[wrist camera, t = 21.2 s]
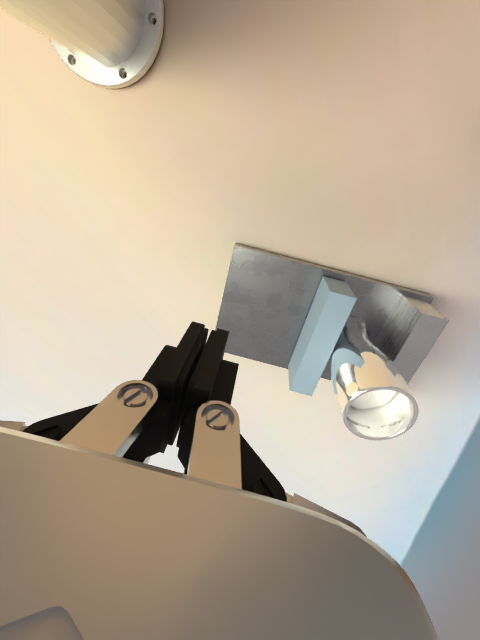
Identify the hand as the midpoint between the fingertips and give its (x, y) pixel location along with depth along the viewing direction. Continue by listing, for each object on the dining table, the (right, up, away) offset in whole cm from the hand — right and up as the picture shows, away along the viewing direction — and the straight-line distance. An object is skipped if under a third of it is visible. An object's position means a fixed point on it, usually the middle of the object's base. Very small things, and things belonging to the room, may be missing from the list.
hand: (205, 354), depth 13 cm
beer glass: (+16, -1, +27) cm, 32 cm away
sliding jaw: (+12, 0, +27) cm, 29 cm away
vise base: (+12, +1, +28) cm, 31 cm away
